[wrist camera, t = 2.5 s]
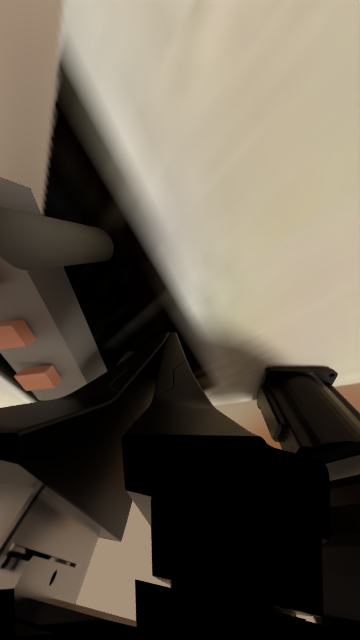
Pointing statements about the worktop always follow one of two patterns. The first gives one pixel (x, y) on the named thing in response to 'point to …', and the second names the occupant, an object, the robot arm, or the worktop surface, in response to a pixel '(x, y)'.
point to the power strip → (46, 314)
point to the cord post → (49, 241)
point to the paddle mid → (15, 334)
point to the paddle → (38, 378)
